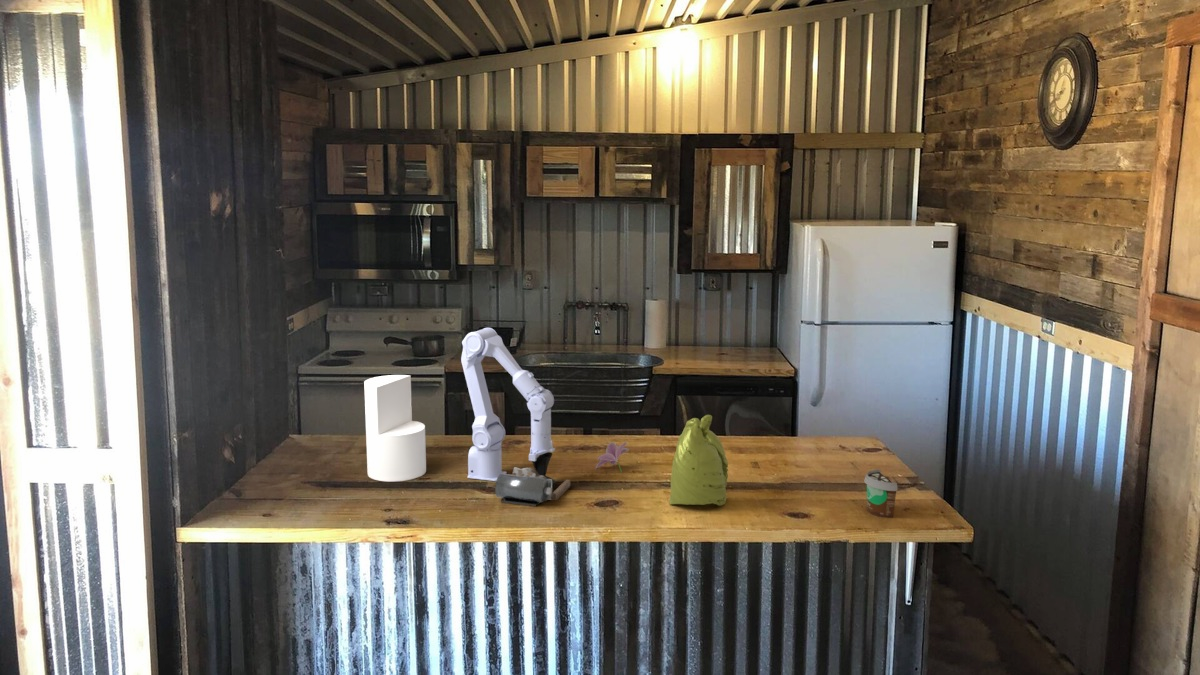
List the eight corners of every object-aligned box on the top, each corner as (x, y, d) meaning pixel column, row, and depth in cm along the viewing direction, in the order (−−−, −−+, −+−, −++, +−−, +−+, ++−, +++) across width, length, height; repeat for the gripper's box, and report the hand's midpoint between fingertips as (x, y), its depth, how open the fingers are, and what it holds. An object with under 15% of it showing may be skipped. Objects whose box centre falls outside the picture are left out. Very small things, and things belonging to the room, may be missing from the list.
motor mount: (488, 501, 250) (487, 477, 248) (514, 480, 267) (513, 457, 266) (547, 509, 245) (547, 484, 244) (570, 486, 262) (570, 463, 261)
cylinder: (355, 476, 269) (351, 384, 264) (389, 460, 285) (386, 372, 280) (404, 484, 263) (402, 390, 258) (437, 467, 279) (435, 378, 274)
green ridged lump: (724, 514, 242) (727, 426, 238) (666, 510, 245) (668, 423, 241) (729, 483, 266) (732, 403, 262) (676, 480, 269) (678, 400, 265)
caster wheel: (555, 495, 262) (544, 502, 253) (519, 483, 265) (507, 489, 255) (561, 473, 262) (550, 479, 252) (525, 461, 264) (513, 467, 255)
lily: (635, 468, 283) (624, 439, 285) (641, 464, 272) (629, 434, 273) (599, 482, 281) (588, 453, 283) (603, 479, 270) (592, 449, 271)
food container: (855, 503, 251) (857, 469, 249) (877, 503, 251) (879, 468, 250) (872, 520, 239) (875, 484, 237) (895, 519, 239) (897, 483, 237)
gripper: (545, 440, 254) (545, 487, 256) (562, 427, 267) (562, 471, 270) (521, 438, 256) (522, 484, 258) (539, 425, 269) (540, 469, 272)
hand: (541, 477), depth 264 cm, fingers closed
